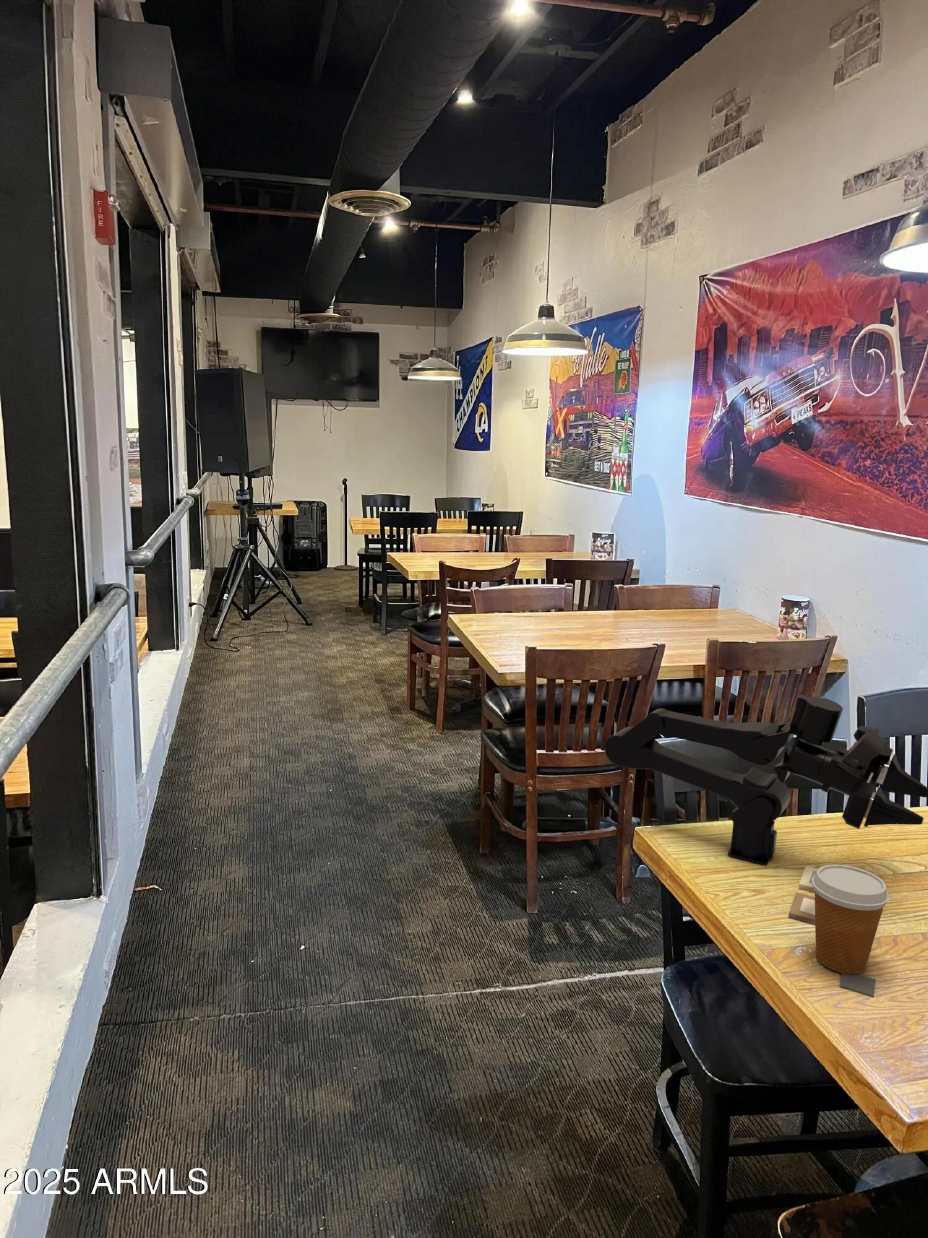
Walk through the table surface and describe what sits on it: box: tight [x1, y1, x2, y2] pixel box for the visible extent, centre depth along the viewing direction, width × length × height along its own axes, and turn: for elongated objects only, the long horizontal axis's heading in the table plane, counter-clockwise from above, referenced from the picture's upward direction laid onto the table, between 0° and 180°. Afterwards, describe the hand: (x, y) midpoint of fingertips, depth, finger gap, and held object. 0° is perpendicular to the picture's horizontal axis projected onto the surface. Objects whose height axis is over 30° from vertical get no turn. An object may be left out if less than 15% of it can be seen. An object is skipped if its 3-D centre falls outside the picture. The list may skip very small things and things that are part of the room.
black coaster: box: [839, 973, 877, 998], centre depth 110 cm, size 4×4×1 cm
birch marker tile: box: [798, 865, 819, 894], centre depth 135 cm, size 7×7×1 cm
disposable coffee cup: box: [812, 864, 890, 974], centre depth 114 cm, size 10×10×12 cm
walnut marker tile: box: [787, 891, 815, 926], centre depth 127 cm, size 7×7×1 cm
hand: (927, 807), depth 128 cm, fingers open, 9 cm apart
